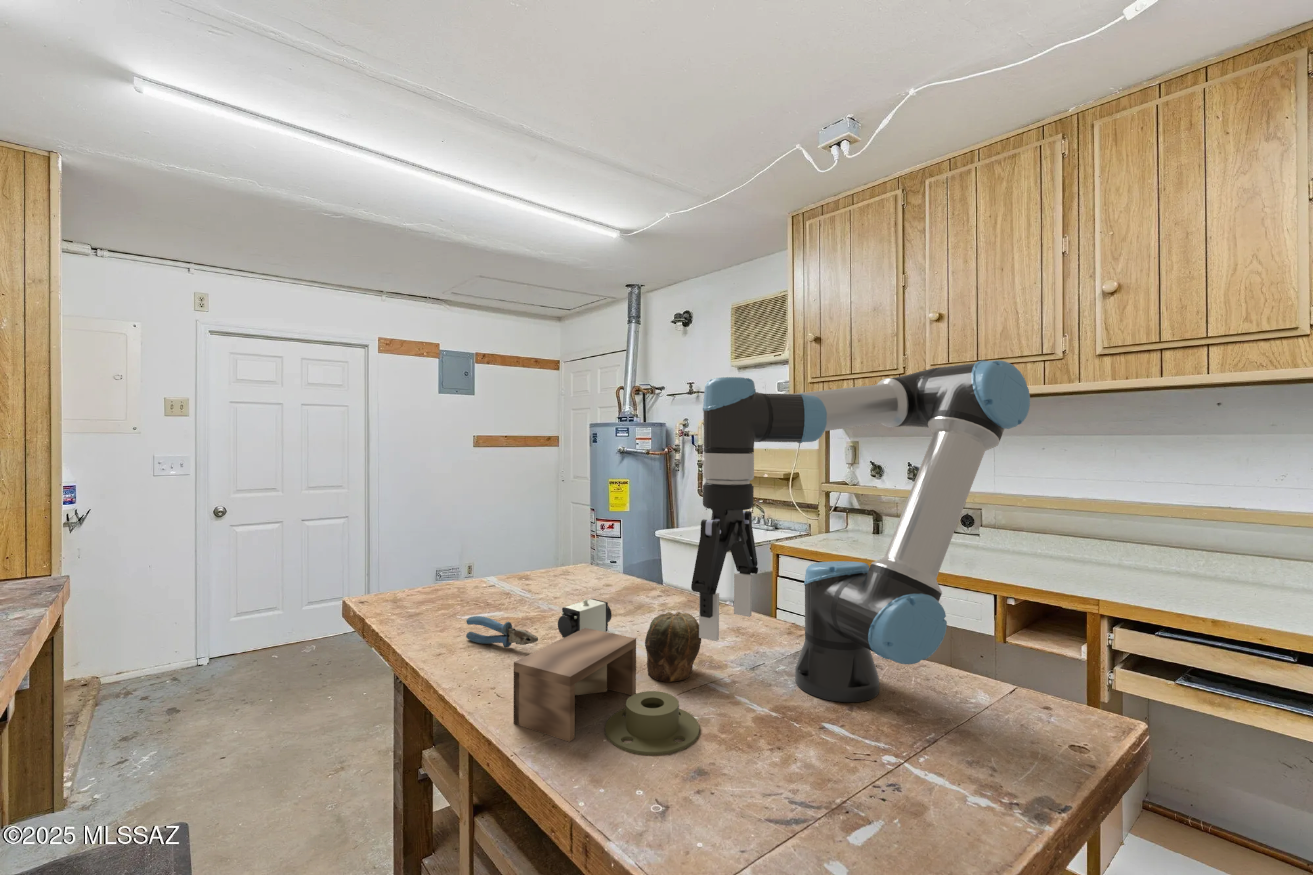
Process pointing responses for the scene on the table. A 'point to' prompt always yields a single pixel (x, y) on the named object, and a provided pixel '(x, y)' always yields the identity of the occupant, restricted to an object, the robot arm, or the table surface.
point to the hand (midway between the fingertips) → (726, 626)
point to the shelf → (570, 678)
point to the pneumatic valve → (584, 617)
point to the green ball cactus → (672, 646)
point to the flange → (652, 725)
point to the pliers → (508, 632)
